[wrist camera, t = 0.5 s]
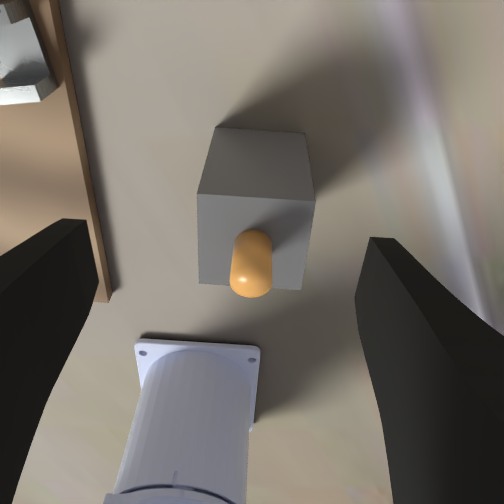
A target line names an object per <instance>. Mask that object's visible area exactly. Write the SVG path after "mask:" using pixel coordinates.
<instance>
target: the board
mask: <svg viewBox="0 0 504 504" xmlns="http://www.w3.org/2000/svg"><path fill="white" fill-rule="evenodd" d="M29 2H30V5H31V8H32V11H33V13H34V16H35V19H36V22H37V25H38V28H39V30H40V33H41V36H42V39H43V42H44V45H45V47H46V50H47V53H48V56H49V59H50V62H51V65H52V67H53V70H54V73H55V76H56V79H57V82H58V84H59V88H58V89H56V90H55V91H54V92H52V93H51V94H50V95H49V96H47V97H46V98H45V99H43V100H42V101H41V102H30V103H19V104H7V105H0V256H1V255H3V254H4V253H6V252H8V251H9V250H11V249H12V248H14V247H16V246H17V245H19V244H20V243H22V242H24V241H25V240H27V239H28V238H30V237H32V236H33V235H35V234H36V233H38V232H39V231H41V230H43V229H44V228H46V227H48V226H49V225H51V224H53V223H54V222H56V221H58V220H60V219H62V218H68V219H84V220H87V225H88V230H89V234H90V239H91V244H92V249H93V254H94V258H95V263H96V268H97V273H98V278H99V284H98V287H97V291H96V294H95V297H94V301H93V302H103V303H109V300H110V298H111V296H112V294H113V293H112V288H111V282H110V277H109V272H108V266H107V261H106V256H105V250H104V245H103V239H102V234H101V229H100V223H99V218H98V213H97V207H96V202H95V196H94V191H93V186H92V180H91V175H90V170H89V164H88V159H87V153H86V148H85V143H84V137H83V132H82V126H81V121H80V116H79V110H78V105H77V100H76V94H75V89H74V83H73V78H72V73H71V67H70V62H69V57H68V51H67V46H66V40H65V35H64V30H63V24H62V19H61V14H60V8H59V3H58V0H29ZM0 80H1V76H0Z"/></svg>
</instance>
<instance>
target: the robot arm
mask: <svg viewBox="0 0 504 504" xmlns="http://www.w3.org/2000/svg"><path fill="white" fill-rule="evenodd" d="M98 284H99V278H98V273H97V268H96V263H95V258H94V254H93V249H92V244H91V239H90V234H89V230H88V225H87V220H84V219H68V218H62V219H60V220H58V221H56V222H54V223H53V224H51V225H49V226H48V227H46V228H44V229H43V230H41V231H39V232H38V233H36V234H35V235H33V236H32V237H30V238H28V239H27V240H25V241H24V242H22V243H20V244H19V245H17V246H16V247H14V248H12V249H11V250H9V251H8V252H6V253H4V254H3V255H1V256H0V504H12V501H13V498H14V495H15V491H16V488H17V485H18V482H19V479H20V476H21V473H22V470H23V467H24V464H25V461H26V458H27V455H28V452H29V449H30V446H31V443H32V440H33V437H34V435H35V432H36V429H37V427H38V424H39V421H40V418H41V416H42V413H43V410H44V407H45V405H46V402H47V400H48V398H49V396H50V393H51V391H52V389H53V387H54V385H55V383H56V381H57V379H58V377H59V375H60V373H61V371H62V369H63V367H64V364H65V362H66V360H67V358H68V356H69V354H70V352H71V350H72V348H73V346H74V344H75V342H76V340H77V338H78V336H79V334H80V332H81V330H82V328H83V326H84V324H85V322H86V319H87V317H88V315H89V312H90V309H91V306H92V304H93V301H94V297H95V294H96V291H97V287H98ZM355 306H356V315H357V323H358V330H359V335H360V339H361V343H362V347H363V351H364V354H365V358H366V362H367V366H368V370H369V374H370V377H371V381H372V385H373V389H374V392H375V396H376V400H377V404H378V408H379V412H380V417H381V422H382V427H383V433H384V440H385V446H386V453H387V459H388V466H389V473H390V481H391V488H392V496H393V503H394V504H504V336H503V335H502V334H500V333H499V332H497V331H496V330H495V329H493V328H492V327H491V326H489V325H488V324H487V323H486V322H484V321H483V320H482V319H481V318H479V317H478V316H477V315H476V314H475V313H473V312H472V311H471V310H470V309H469V308H468V307H466V306H465V305H464V304H463V303H462V302H460V301H459V300H458V299H457V298H456V297H455V296H454V295H453V294H451V293H450V292H449V291H448V290H447V289H446V288H445V287H444V286H443V285H442V284H441V283H440V282H439V281H437V280H436V279H435V278H434V277H433V276H432V275H431V274H430V273H429V272H428V271H427V270H426V269H425V268H424V267H423V266H422V265H421V264H420V263H419V262H418V261H417V260H416V259H415V258H414V257H413V256H412V255H411V254H410V253H409V252H408V251H407V250H406V249H405V248H404V247H403V246H402V245H401V244H400V243H399V242H398V241H396V240H395V239H394V238H379V237H370V239H369V243H368V247H367V251H366V254H365V258H364V262H363V266H362V270H361V274H360V278H359V282H358V286H357V289H356V293H355ZM134 347H135V354H136V360H137V366H138V372H139V378H140V385H141V394H140V398H139V401H138V405H137V408H136V412H135V416H134V419H133V423H132V426H131V430H130V433H129V437H128V441H127V444H126V448H125V451H124V455H123V459H122V462H121V466H120V469H119V473H118V477H117V480H116V484H115V487H114V491H113V494H111V493H108V494H106V496H105V499H104V502H103V504H246V491H247V468H248V446H249V432H250V431H252V429H253V421H254V411H255V402H256V392H257V382H258V372H259V363H260V349H259V348H258V347H256V346H251V345H236V344H220V343H205V342H190V341H174V340H159V339H143V338H142V339H138V340H137V341H136V343H135V346H134ZM142 350H143V351H142Z"/></svg>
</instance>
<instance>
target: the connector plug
mask: <svg viewBox="0 0 504 504" xmlns="http://www.w3.org/2000/svg"><path fill="white" fill-rule="evenodd" d="M315 204H316V200H315V193H314V187H313V181H312V175H311V169H310V162H309V156H308V150H307V144H306V138H305V133H295V132H280V131H265V130H250V129H235V128H220V127H215V130H214V133H213V137H212V141H211V144H210V148H209V151H208V155H207V159H206V162H205V166H204V170H203V173H202V177H201V180H200V184H199V188H198V191H197V221H198V263H199V284H215V285H230V286H231V287H232V289H233V290H234V291H235V292H236V293H237V294H239V295H241V296H244V297H252V298H253V297H259V296H262V295H264V294H266V293H267V292H268V291H269V290H270V288H276V289H291V290H301V288H302V282H303V276H304V270H305V264H306V258H307V252H308V246H309V240H310V234H311V228H312V222H313V216H314V210H315Z"/></svg>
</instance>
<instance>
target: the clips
mask: <svg viewBox="0 0 504 504" xmlns="http://www.w3.org/2000/svg"><path fill="white" fill-rule="evenodd" d="M0 76H1V80H0V105H7V104H19V103H30V102H41V101H42V100H43V99H45V98H46V97H47V96H49V95H50V94H51V93H52V92H54V91H55V90H56V89H58V88H59V84H58V82H57V79H56V76H55V73H54V70H53V67H52V65H51V62H50V59H49V56H48V53H47V50H46V47H45V45H44V42H43V39H42V36H41V33H40V30H39V28H38V25H37V22H36V19H35V16H34V13H33V11H32V8H31V5H30V2H29V0H0Z"/></svg>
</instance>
